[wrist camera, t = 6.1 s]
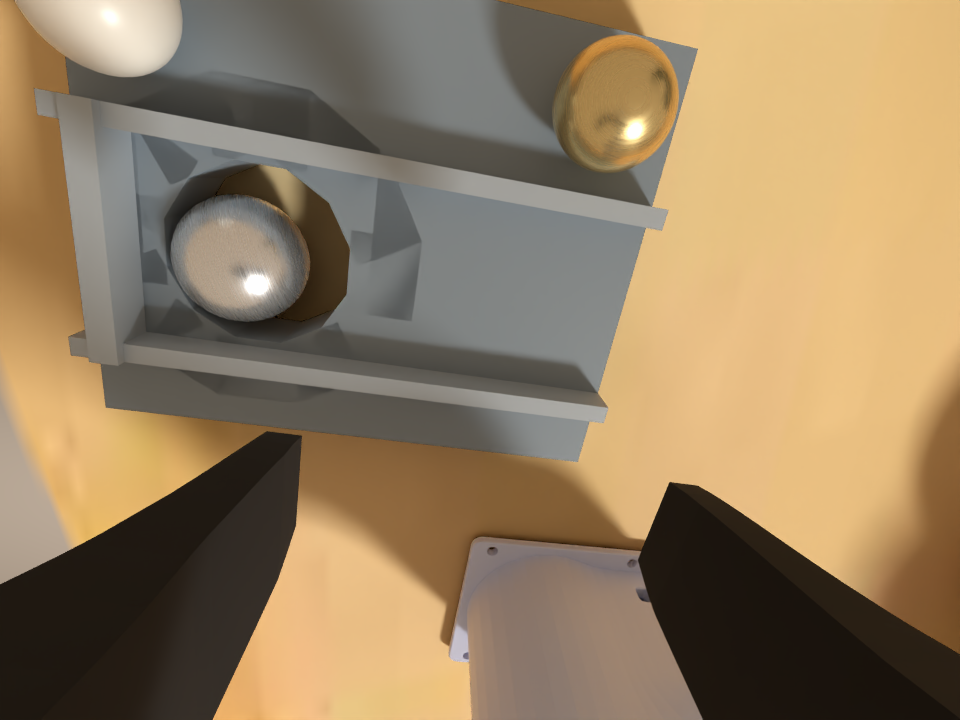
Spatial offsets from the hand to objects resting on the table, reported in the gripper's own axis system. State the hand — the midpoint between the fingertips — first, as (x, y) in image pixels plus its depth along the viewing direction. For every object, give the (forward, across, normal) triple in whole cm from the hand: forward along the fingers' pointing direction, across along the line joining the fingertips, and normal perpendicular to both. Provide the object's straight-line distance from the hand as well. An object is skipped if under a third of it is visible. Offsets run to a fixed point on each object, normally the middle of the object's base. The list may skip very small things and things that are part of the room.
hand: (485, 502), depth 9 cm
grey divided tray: (+10, +4, -3) cm, 11 cm away
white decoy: (+6, +10, -8) cm, 14 cm away
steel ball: (+8, +8, -2) cm, 11 cm away
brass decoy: (+6, -2, -8) cm, 11 cm away
